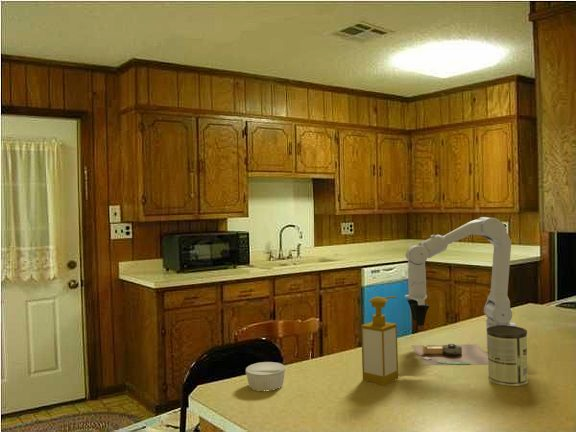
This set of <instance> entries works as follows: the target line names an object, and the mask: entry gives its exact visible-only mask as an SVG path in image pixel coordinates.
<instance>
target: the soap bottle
mask: <svg viewBox="0 0 576 432" xmlns="http://www.w3.org/2000/svg"><path fill="white" fill-rule="evenodd" d="M388 299H397V297H396V296H385V297H383V296H374V297H372V298H370V299H369V300H368V302H369V303H370V304H371V308H375V313H374V314H372V316H371V318H372V321H370V322H367V323H365V324H364V323H363V324H361V325H360V326H361V328H360V331H361V365H362V369H361V370H362V381H365V380H366V382H369V381H370V382H371V383H373V382H374V383H373V384H377V383H378V384H377V385H382V386H385V385H388V384H390V383H391V382H394V381H396V380H398V379H399V359H398V357H399V355H398V326H397V323H393V322H388V321H386V314H382V308H386V303H388V302H389V300H388Z"/></svg>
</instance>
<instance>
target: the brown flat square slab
mask: <svg viewBox="0 0 576 432" xmlns="http://www.w3.org/2000/svg"><path fill="white" fill-rule="evenodd" d="M423 345H424V344H422V345H421V344H417V345H415V344H413V345H411V347H412V348H413V350H414V353H415V354H416V355H417V357H418V358H419V360H420V362H421V364H422V365H423V366H468V365H469V366H471V365H472V366H473V365H474V366H475V365H476V366H479V365H481V366H482V365H485V366H486V365H487V366H488V352H486V351H485V350H484V349H483V348H482V347H481V346H480V345H479V344H477V343H476V344H474V343H473V344H471V343H470V344H456V345H457V346H460V347H462V355H460V356H447V355H444V354H424V353H423ZM426 345H427V347H442V346H444V345H445V344H426Z"/></svg>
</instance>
